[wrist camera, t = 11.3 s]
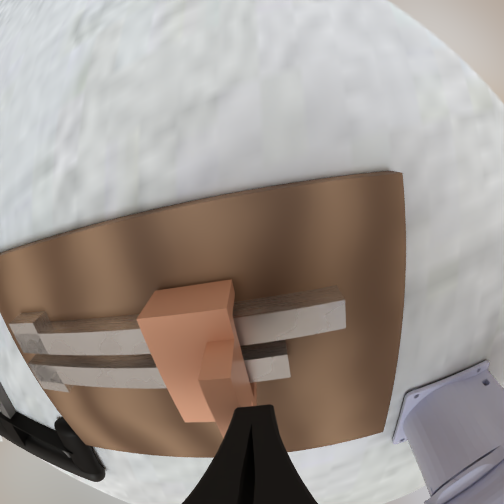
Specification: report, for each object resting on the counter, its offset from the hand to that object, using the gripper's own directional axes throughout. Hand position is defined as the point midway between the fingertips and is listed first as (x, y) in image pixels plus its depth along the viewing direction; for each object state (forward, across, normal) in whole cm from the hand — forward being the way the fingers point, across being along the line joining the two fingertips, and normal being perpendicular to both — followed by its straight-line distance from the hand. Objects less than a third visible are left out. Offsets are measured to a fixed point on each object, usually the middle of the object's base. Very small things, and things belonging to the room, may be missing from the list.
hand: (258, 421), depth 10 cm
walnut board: (+8, +6, +3) cm, 10 cm away
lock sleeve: (+6, +3, 0) cm, 6 cm away
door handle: (+8, +30, +12) cm, 34 cm away
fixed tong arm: (+6, +6, -1) cm, 9 cm away
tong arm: (+6, +8, +1) cm, 10 cm away
